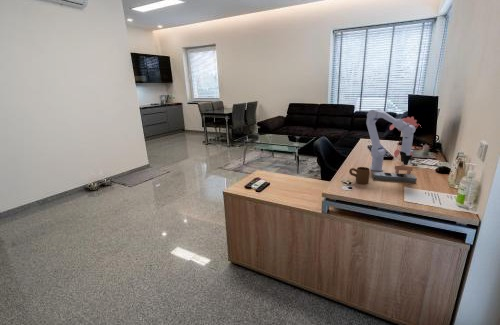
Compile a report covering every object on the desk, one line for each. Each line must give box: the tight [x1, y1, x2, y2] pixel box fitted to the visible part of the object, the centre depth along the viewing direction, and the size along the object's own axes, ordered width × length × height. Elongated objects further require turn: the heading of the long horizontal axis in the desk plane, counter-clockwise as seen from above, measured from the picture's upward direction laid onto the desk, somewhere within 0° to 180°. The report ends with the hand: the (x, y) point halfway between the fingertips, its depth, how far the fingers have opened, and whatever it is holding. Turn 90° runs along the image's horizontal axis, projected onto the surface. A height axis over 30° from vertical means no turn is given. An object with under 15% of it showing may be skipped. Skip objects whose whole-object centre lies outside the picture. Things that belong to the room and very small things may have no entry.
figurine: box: [389, 116, 421, 158], centre depth 209 cm, size 15×26×35 cm, turn 69°
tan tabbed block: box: [394, 163, 414, 174], centre depth 171 cm, size 3×10×7 cm, turn 70°
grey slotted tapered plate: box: [372, 171, 418, 184], centre depth 165 cm, size 8×24×3 cm, turn 70°
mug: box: [348, 166, 371, 185], centre depth 161 cm, size 12×8×9 cm, turn 70°
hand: (404, 163), depth 170 cm, fingers open, 7 cm apart
